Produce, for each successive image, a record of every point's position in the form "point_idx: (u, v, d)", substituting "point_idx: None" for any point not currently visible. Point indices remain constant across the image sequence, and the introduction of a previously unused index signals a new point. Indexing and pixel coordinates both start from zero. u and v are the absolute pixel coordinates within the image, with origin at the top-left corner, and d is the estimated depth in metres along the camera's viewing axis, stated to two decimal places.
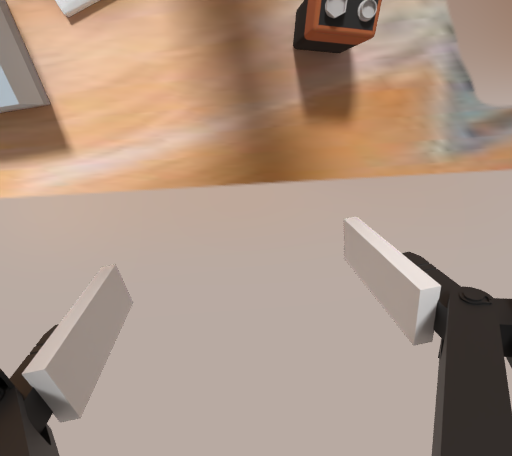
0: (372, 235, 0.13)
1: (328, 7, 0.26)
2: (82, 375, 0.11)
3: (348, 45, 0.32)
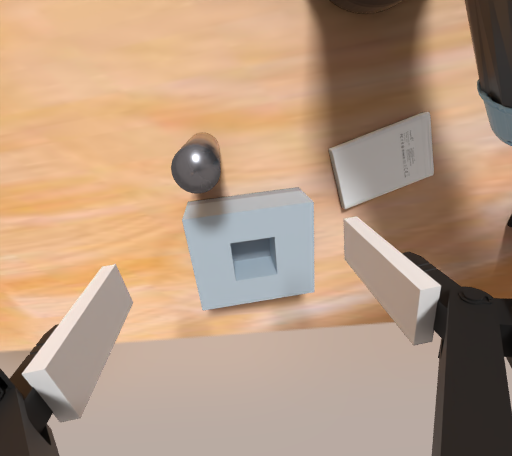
0: (372, 235, 0.13)
1: None
2: (82, 375, 0.11)
3: None
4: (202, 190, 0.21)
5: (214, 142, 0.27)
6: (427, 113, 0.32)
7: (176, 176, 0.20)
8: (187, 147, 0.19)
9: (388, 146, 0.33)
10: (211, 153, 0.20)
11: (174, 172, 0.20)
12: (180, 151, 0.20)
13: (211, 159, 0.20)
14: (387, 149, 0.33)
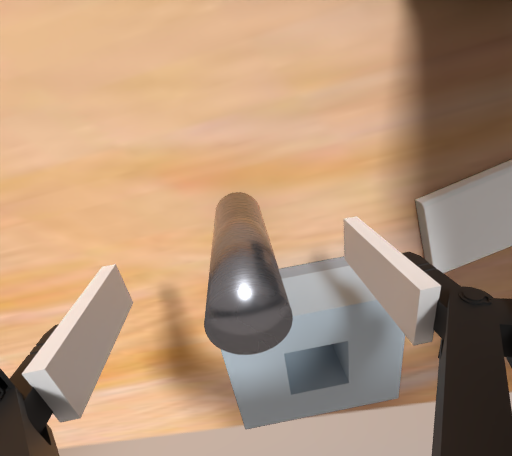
0: (372, 235, 0.13)
1: None
2: (82, 375, 0.11)
3: None
4: (259, 349, 0.12)
5: (259, 220, 0.17)
6: None
7: (213, 335, 0.11)
8: (233, 292, 0.10)
9: (506, 192, 0.22)
10: (277, 296, 0.11)
11: (210, 330, 0.11)
12: (220, 299, 0.10)
13: (277, 305, 0.11)
14: (504, 196, 0.22)
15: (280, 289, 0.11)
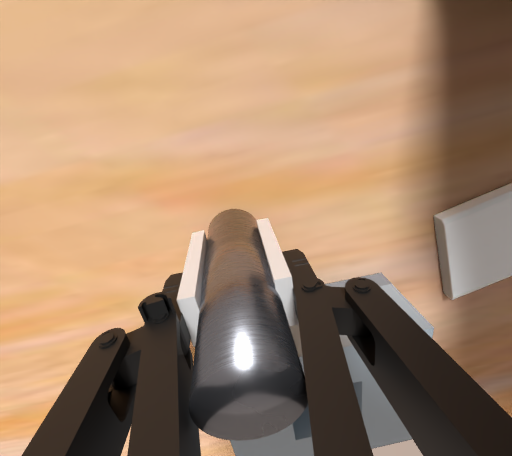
0: (269, 234, 0.15)
1: None
2: None
3: None
4: (264, 433, 0.09)
5: (260, 246, 0.14)
6: None
7: (202, 421, 0.08)
8: (228, 368, 0.07)
9: None
10: (289, 371, 0.08)
11: (197, 415, 0.08)
12: (210, 378, 0.07)
13: (288, 381, 0.08)
14: None
15: (292, 357, 0.08)
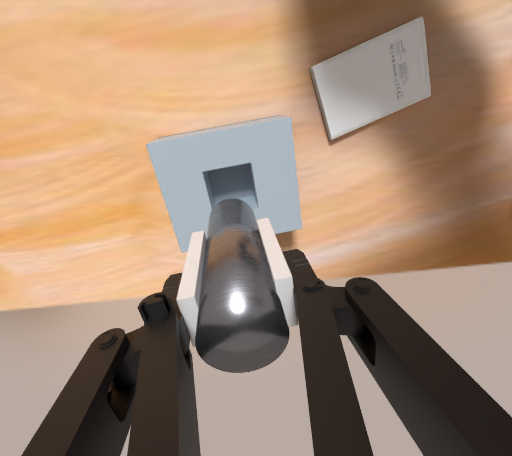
0: (269, 234, 0.15)
1: None
2: None
3: None
4: (254, 367, 0.11)
5: (254, 227, 0.17)
6: (420, 18, 0.28)
7: (205, 353, 0.10)
8: (225, 307, 0.10)
9: (376, 60, 0.29)
10: (272, 311, 0.10)
11: (201, 348, 0.10)
12: (211, 315, 0.10)
13: (272, 320, 0.10)
14: (375, 64, 0.29)
15: (275, 303, 0.10)
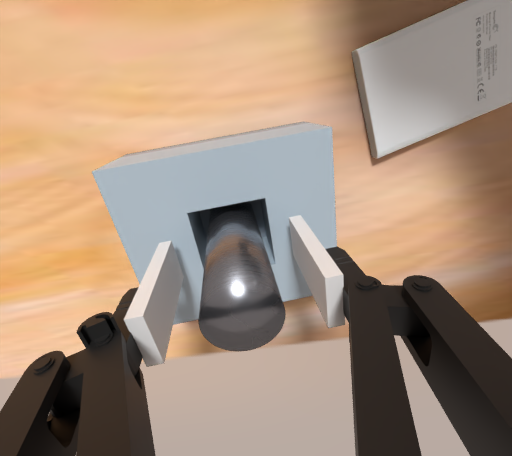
0: (306, 232, 0.14)
1: None
2: (162, 328, 0.12)
3: None
4: (253, 345, 0.12)
5: (253, 220, 0.18)
6: None
7: (208, 332, 0.11)
8: (226, 288, 0.10)
9: (454, 42, 0.19)
10: (269, 292, 0.11)
11: (204, 327, 0.11)
12: (214, 296, 0.11)
13: (269, 301, 0.11)
14: (452, 48, 0.19)
15: (272, 285, 0.11)
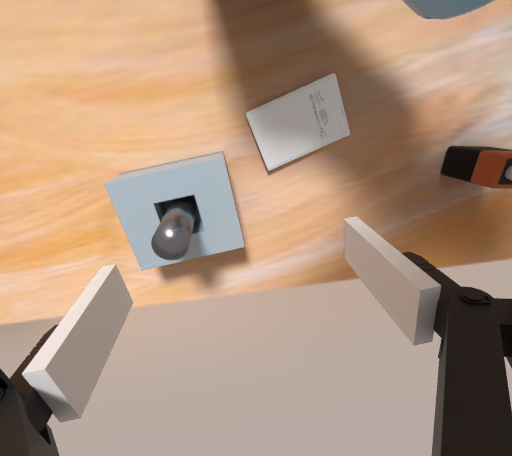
0: (372, 235, 0.13)
1: (510, 174, 0.33)
2: (82, 375, 0.11)
3: None
4: (177, 257, 0.27)
5: (189, 207, 0.33)
6: (333, 74, 0.34)
7: (156, 250, 0.27)
8: (161, 230, 0.26)
9: (300, 107, 0.35)
10: (179, 231, 0.26)
11: (154, 248, 0.27)
12: (156, 233, 0.26)
13: (180, 236, 0.26)
14: (299, 110, 0.35)
15: (182, 230, 0.27)
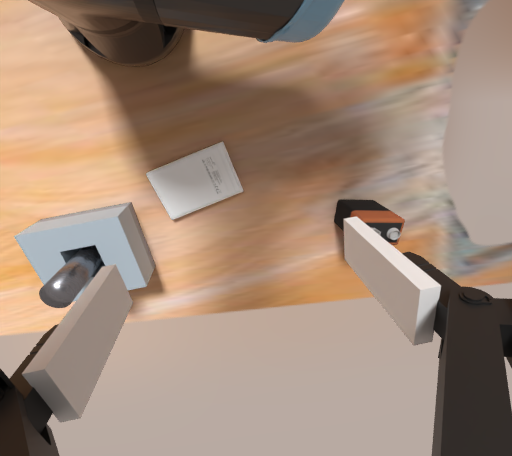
0: (372, 235, 0.13)
1: None
2: (82, 375, 0.11)
3: None
4: (64, 305, 0.33)
5: (92, 254, 0.39)
6: (221, 143, 0.39)
7: (44, 300, 0.32)
8: (46, 285, 0.32)
9: (194, 169, 0.40)
10: (63, 286, 0.32)
11: (42, 298, 0.32)
12: (42, 287, 0.32)
13: (64, 289, 0.32)
14: (194, 172, 0.40)
15: (67, 284, 0.32)
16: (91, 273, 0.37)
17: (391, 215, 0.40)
